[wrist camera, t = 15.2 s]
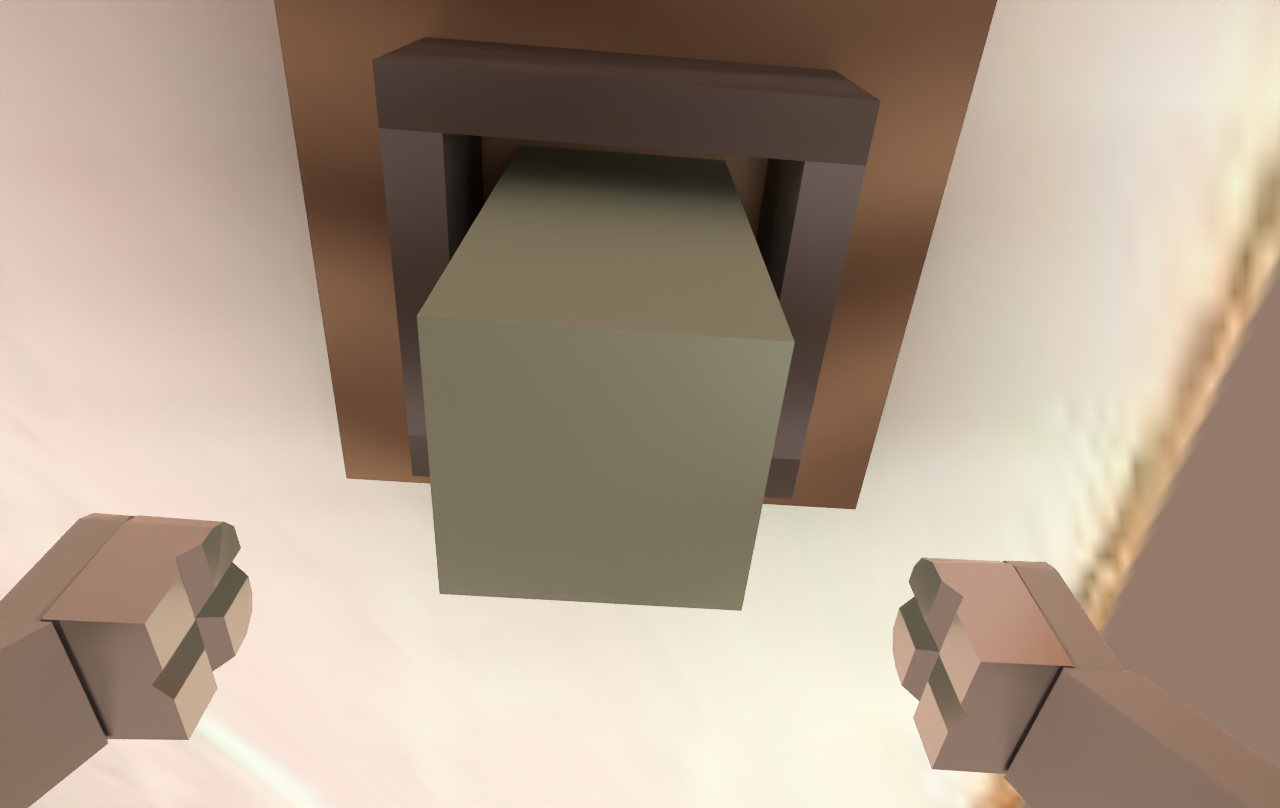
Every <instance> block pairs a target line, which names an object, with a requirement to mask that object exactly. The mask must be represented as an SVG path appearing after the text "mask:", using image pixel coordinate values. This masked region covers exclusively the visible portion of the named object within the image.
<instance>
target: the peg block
mask: <svg viewBox="0 0 1280 808" xmlns="http://www.w3.org/2000/svg"><path fill="white" fill-rule="evenodd" d="M417 324H418V336H419V348H420V360H421V372H422V384H423V397H424V409H425V421H426V433H427V445H428V457H429V470H430V482H431V494H432V506H433V518H434V530H435V542H436V555H437V567H438V579H439V591H440V594H453V595H471V596H489V597H507V598H525V599H543V600H561V601H579V602H597V603H615V604H633V605H651V606H669V607H687V608H704V609H722V610H740V611H741V610H742V605H743V600H744V595H745V590H746V585H747V580H748V575H749V570H750V564H751V559H752V554H753V549H754V544H755V539H756V534H757V529H758V524H759V519H760V514H761V509H762V504H763V499H764V494H765V489H766V484H767V479H768V474H769V469H770V464H771V459H772V454H773V449H774V444H775V439H776V433H777V428H778V423H779V418H780V413H781V408H782V403H783V398H784V393H785V388H786V383H787V378H788V373H789V368H790V363H791V358H792V353H793V348H794V343H795V342H794V339H793V336H792V334H791V331H790V328H789V326H788V323H787V321H786V318H785V315H784V313H783V310H782V308H781V305H780V302H779V300H778V297H777V294H776V292H775V289H774V287H773V284H772V281H771V279H770V276H769V274H768V271H767V268H766V266H765V263H764V260H763V258H762V255H761V253H760V250H759V247H758V245H757V242H756V240H755V237H754V234H753V232H752V229H751V226H750V224H749V221H748V219H747V216H746V213H745V211H744V208H743V206H742V203H741V200H740V198H739V195H738V192H737V190H736V187H735V185H734V182H733V179H732V177H731V174H730V172H729V169H728V166H727V164H726V161H725V160H715V159H702V158H689V157H676V156H663V155H650V154H637V153H624V152H611V151H598V150H585V149H572V148H559V147H546V146H533V145H520V147H519V148H518V150H517V152H516V153H515V155H514V156H513V158H512V160H511V161H510V163H509V165H508V166H507V168H506V170H505V171H504V173H503V175H502V176H501V178H500V180H499V181H498V183H497V185H496V186H495V188H494V189H493V191H492V193H491V194H490V196H489V198H488V199H487V201H486V203H485V204H484V206H483V208H482V209H481V211H480V213H479V214H478V216H477V218H476V219H475V221H474V223H473V224H472V226H471V227H470V229H469V231H468V232H467V234H466V236H465V237H464V239H463V241H462V242H461V244H460V246H459V247H458V249H457V251H456V252H455V254H454V256H453V257H452V259H451V260H450V262H449V264H448V265H447V267H446V269H445V270H444V272H443V274H442V275H441V277H440V279H439V280H438V282H437V284H436V285H435V287H434V289H433V290H432V292H431V294H430V295H429V297H428V298H427V300H426V302H425V303H424V305H423V307H422V308H421V310H420V312H419V313H418V315H417Z"/></svg>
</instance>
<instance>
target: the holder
mask: <svg viewBox="0 0 1280 808" xmlns="http://www.w3.org/2000/svg"><path fill="white" fill-rule="evenodd" d="M274 2H275V8H276V15H277V22H278V28H279V35H280V41H281V48H282V55H283V61H284V68H285V74H286V81H287V88H288V94H289V101H290V107H291V114H292V121H293V127H294V134H295V140H296V147H297V153H298V160H299V167H300V173H301V180H302V186H303V193H304V200H305V206H306V213H307V219H308V226H309V233H310V239H311V246H312V252H313V259H314V266H315V272H316V279H317V285H318V292H319V299H320V305H321V312H322V318H323V325H324V332H325V338H326V345H327V351H328V358H329V365H330V371H331V378H332V384H333V391H334V397H335V404H336V411H337V417H338V424H339V430H340V437H341V444H342V450H343V457H344V463H345V470H346V477H347V478H350V479H367V480H383V481H400V482H416V483H431V482H430V470H429V457H428V445H427V433H426V421H425V409H424V397H423V384H422V372H421V360H420V348H419V336H418V324H417V315H418V313H419V312H420V310H421V308H422V307H423V305H424V303H425V302H426V300H427V298H428V297H429V295H430V294H431V292H432V290H433V289H434V287H435V285H436V284H437V282H438V280H439V279H440V277H441V275H442V274H443V272H444V270H445V269H446V267H447V265H448V264H449V262H450V260H451V259H452V257H453V256H454V254H455V252H456V251H457V249H458V247H459V246H460V244H461V242H462V241H463V239H464V237H465V236H466V234H467V232H468V231H469V229H470V227H471V226H472V224H473V223H474V221H475V219H476V218H477V216H478V214H479V213H480V211H481V209H482V208H483V206H484V204H485V203H486V201H487V199H488V198H489V196H490V194H491V193H492V191H493V189H494V188H495V186H496V185H497V183H498V181H499V180H500V178H501V176H502V175H503V173H504V171H505V170H506V168H507V166H508V165H509V163H510V161H511V160H512V158H513V156H514V155H515V153H516V152H517V150H518V148H519V147H520V145H533V146H546V147H559V148H572V149H585V150H598V151H611V152H624V153H637V154H650V155H663V156H676V157H689V158H702V159H715V160H725V161H726V164H727V166H728V169H729V172H730V174H731V177H732V179H733V182H734V185H735V187H736V190H737V192H738V195H739V198H740V200H741V203H742V206H743V208H744V211H745V213H746V216H747V219H748V221H749V224H750V226H751V229H752V232H753V234H754V237H755V240H756V242H757V245H758V247H759V250H760V253H761V255H762V258H763V260H764V263H765V266H766V268H767V271H768V274H769V276H770V279H771V281H772V284H773V287H774V289H775V292H776V294H777V297H778V300H779V302H780V305H781V308H782V310H783V313H784V315H785V318H786V321H787V323H788V326H789V328H790V331H791V334H792V336H793V339H794V342H795V343H794V348H793V353H792V358H791V363H790V368H789V373H788V378H787V383H786V388H785V393H784V398H783V403H782V408H781V413H780V418H779V423H778V428H777V433H776V439H775V444H774V449H773V454H772V459H771V464H770V469H769V474H768V479H767V484H766V489H765V494H764V499H763V504H777V505H793V506H809V507H826V508H842V509H856V505H857V502H858V498H859V494H860V491H861V487H862V484H863V480H864V476H865V473H866V469H867V466H868V462H869V458H870V455H871V451H872V448H873V444H874V441H875V437H876V433H877V430H878V426H879V423H880V419H881V415H882V412H883V408H884V405H885V401H886V398H887V394H888V390H889V387H890V383H891V380H892V376H893V372H894V369H895V365H896V362H897V358H898V354H899V351H900V347H901V344H902V340H903V337H904V333H905V329H906V326H907V322H908V319H909V315H910V311H911V308H912V304H913V301H914V297H915V294H916V290H917V286H918V283H919V279H920V276H921V272H922V268H923V265H924V261H925V258H926V254H927V250H928V247H929V243H930V240H931V236H932V233H933V229H934V225H935V222H936V218H937V215H938V211H939V207H940V204H941V200H942V197H943V193H944V189H945V186H946V182H947V179H948V175H949V172H950V168H951V164H952V161H953V157H954V154H955V150H956V146H957V143H958V139H959V136H960V132H961V129H962V125H963V121H964V118H965V114H966V111H967V107H968V103H969V100H970V96H971V93H972V89H973V85H974V82H975V78H976V75H977V71H978V68H979V64H980V60H981V57H982V53H983V50H984V46H985V42H986V39H987V35H988V32H989V28H990V25H991V21H992V17H993V14H994V10H995V7H996V3H997V0H274Z"/></svg>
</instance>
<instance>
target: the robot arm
mask: <svg viewBox="0 0 1280 808" xmlns="http://www.w3.org/2000/svg"><path fill="white" fill-rule="evenodd" d="M240 548H241V547H240V544H239V541H238V538H237V535H236V532H235V528H234V526H232V525H230V524H227V523H225V522H219V521H205V520H192V519H179V518H165V517H152V516H125V515H113V514H100V513H93V514H90V515H88V516H85V517H83V518H80V519H79V520H78V521H77V522H76V523H75V524H74V525H73V526H72V527H71V528H70V529H69V530H68V531H67V532H66V533H65V534H64V535H63V536H62V537H61V538H60V539H59V540H58V541H57V542H56V544H55V545H54V546H53V547H52V548H51V549H50V550H49V551H48V552H47V553H46V554H45V555H44V556H43V557H42V558H41V559H40V560H39V561H38V562H37V563H36V564H35V565H34V567H33V568H32V569H31V570H30V571H29V572H28V573H27V574H26V575H25V576H24V577H23V578H22V579H21V580H20V581H19V582H18V583H17V584H16V585H15V586H14V587H13V589H12V590H11V591H10V592H9V593H8V594H7V595H6V596H5V597H4V598H3V599H2V600H1V601H0V808H28V807H29V806H31V805H32V804H33V803H34V802H36V801H37V800H38V799H39V798H41V797H42V796H43V795H44V794H46V793H47V792H48V791H49V790H51V789H52V788H53V787H54V786H55V785H57V784H58V783H59V782H60V781H62V780H63V779H64V778H65V777H67V776H68V775H69V774H70V773H72V772H73V771H74V770H75V769H77V768H78V767H79V766H80V765H82V764H83V763H84V762H85V761H87V760H88V759H89V758H90V757H92V756H93V755H94V754H95V753H97V752H98V751H99V750H100V749H102V748H103V747H104V746H105V745H107V744H108V741H107V739H164V740H189V738H190V737H191V735H192V733H193V731H194V729H195V728H196V726H197V724H198V722H199V720H200V719H201V717H202V715H203V713H204V711H205V710H206V708H207V706H208V704H209V702H210V701H211V699H212V697H213V695H214V694H215V692H216V690H217V685H216V682H215V678H214V675H213V671H214V670H215V669H217V668H218V667H220V666H221V665H223V664H224V663H226V662H227V661H228V660H230V659H231V658H233V657H234V656H235V655H236V653H237V652H238V650H239V648H240V646H241V644H242V642H243V640H244V638H245V636H246V633H247V629H248V625H249V621H250V617H251V613H252V590H251V586H250V582H249V577H248V576H247V575H246V574H245V573H244V572H243V571H242V570H240V569H239V568H238V567H237V566H236V565H235V564H234V563H232V561H233V560H234V558H235V556H236V555H237V553H238V552H239V550H240ZM909 583H910V586H911V588H912V591H913V593H914V595H915V597H913V598H912V599H911V600H909V601H908V602H907V603H905V604H904V605H903V606H901V607H900V608H899V611H898V614H897V618H896V621H895V624H894V627H893V655H894V660H895V666H896V670H897V673H898V676H899V679H900V682H901V684H902V686H903V687H904V688H905V689H906V690H908V691H909V692H910V693H911V694H912V695H913V696H914V697H915V698H916V699H918V700H919V701H920V702H919V704H918V707H917V709H916V712H915V715H914V717H913V718H914V721H915V724H916V727H917V729H918V732H919V735H920V738H921V740H922V743H923V746H924V749H925V751H926V754H927V757H928V760H929V762H930V765H931V768H932V769H940V770H955V771H969V772H984V773H999V774H1006V775H1005V777H1004V778H1005V779H1006V780H1007V781H1008V782H1009V783H1010V784H1011V785H1012V786H1013V787H1014V789H1015V790H1016V791H1017V792H1018V793H1019V794H1020V795H1021V796H1022V797H1023V798H1024V799H1025V800H1026V801H1027V802H1028V803H1029V805H1030V806H1031V807H1032V808H1280V769H1279V768H1277V767H1276V766H1275V765H1273V764H1272V763H1270V762H1269V761H1267V760H1266V759H1264V758H1263V757H1261V756H1260V755H1259V754H1257V753H1256V752H1254V751H1252V750H1251V749H1250V748H1248V747H1247V746H1245V745H1244V744H1242V743H1241V742H1239V741H1238V740H1236V739H1235V738H1234V737H1232V736H1231V735H1229V734H1228V733H1226V732H1225V731H1223V730H1222V729H1221V728H1219V727H1218V726H1216V725H1215V724H1213V723H1212V722H1210V721H1209V720H1207V719H1206V718H1204V717H1203V716H1202V715H1200V714H1199V713H1197V712H1196V711H1194V710H1193V709H1191V708H1190V707H1188V706H1187V705H1185V704H1184V703H1183V702H1181V701H1180V700H1178V699H1177V698H1175V697H1174V696H1172V695H1171V694H1169V693H1168V692H1166V691H1165V690H1164V689H1162V688H1161V687H1159V686H1158V685H1156V684H1155V683H1153V682H1152V681H1150V680H1149V679H1147V678H1146V677H1145V676H1143V675H1142V674H1140V673H1139V672H1137V671H1124V670H1123V668H1122V667H1121V666H1120V664H1119V663H1118V661H1117V660H1116V658H1115V657H1114V655H1113V654H1112V652H1111V651H1110V649H1109V648H1108V646H1107V645H1106V643H1105V642H1104V640H1103V639H1102V637H1101V636H1100V634H1099V633H1098V631H1097V630H1096V628H1095V627H1094V625H1093V624H1092V622H1091V621H1090V619H1089V618H1088V616H1087V615H1086V613H1085V612H1084V610H1083V609H1082V607H1081V606H1080V604H1079V603H1078V601H1077V600H1076V598H1075V597H1074V595H1073V594H1072V592H1071V591H1070V589H1069V588H1068V586H1067V585H1066V583H1065V582H1064V580H1063V579H1062V577H1061V576H1060V574H1059V573H1058V571H1057V570H1056V569H1055V568H1054V567H1052V566H1051V565H1049V564H1048V563H1046V562H1025V561H1003V562H1000V561H984V560H961V559H939V558H921V559H920V561H919V562H918V563H917V564H916V565H915V566H914V569H913V571H912V574H911V577H910V580H909Z"/></svg>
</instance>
